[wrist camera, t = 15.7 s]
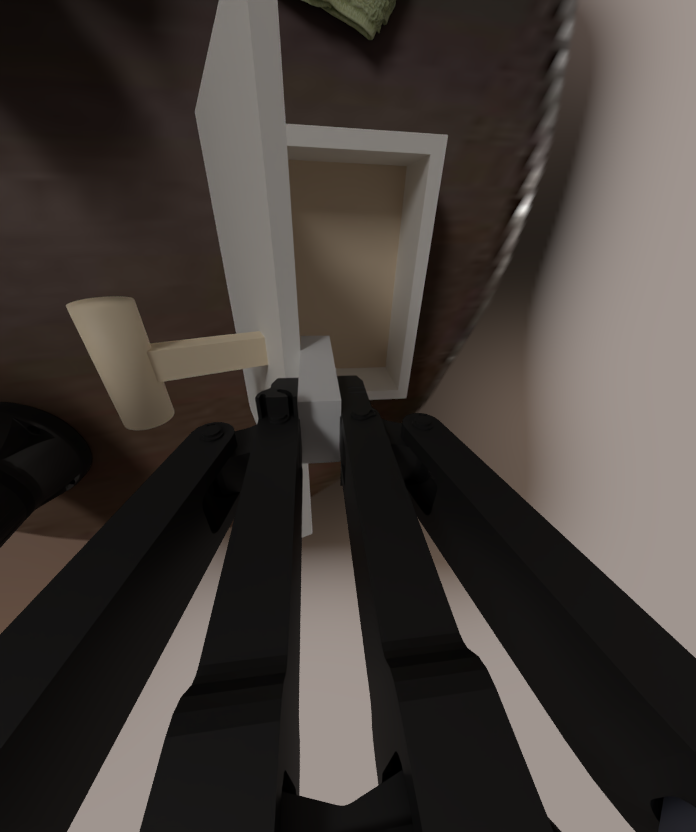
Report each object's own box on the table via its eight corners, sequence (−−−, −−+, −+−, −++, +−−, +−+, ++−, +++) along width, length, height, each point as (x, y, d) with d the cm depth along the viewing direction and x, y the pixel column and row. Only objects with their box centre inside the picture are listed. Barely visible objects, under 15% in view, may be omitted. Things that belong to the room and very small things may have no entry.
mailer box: (264, 375, 41) (257, 404, 34) (230, 140, 27) (208, 118, 21) (391, 372, 43) (406, 398, 37) (417, 152, 29) (448, 135, 23)
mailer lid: (257, 406, 34) (174, 424, 31) (207, 113, 21) (51, 89, 18) (312, 533, 21) (175, 588, 17) (272, -75, 7) (-370, -339, 4)
